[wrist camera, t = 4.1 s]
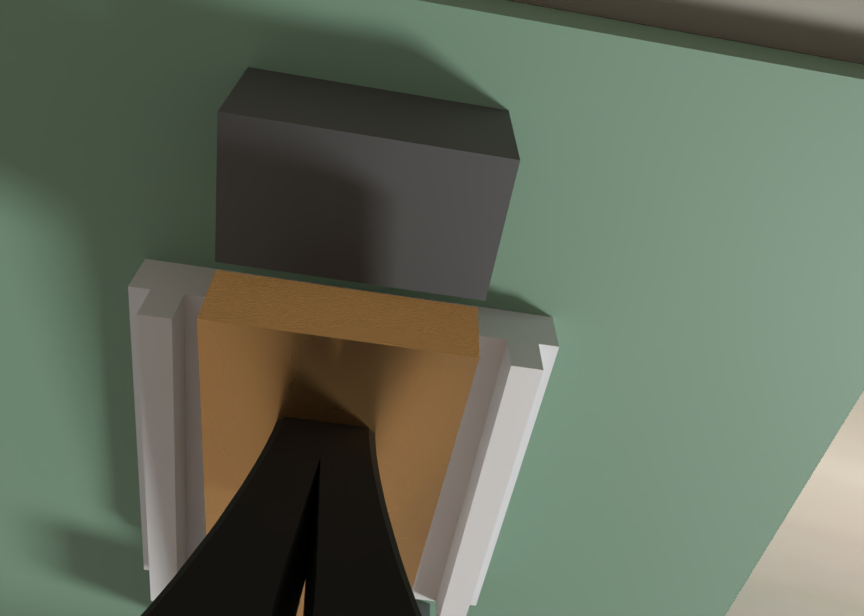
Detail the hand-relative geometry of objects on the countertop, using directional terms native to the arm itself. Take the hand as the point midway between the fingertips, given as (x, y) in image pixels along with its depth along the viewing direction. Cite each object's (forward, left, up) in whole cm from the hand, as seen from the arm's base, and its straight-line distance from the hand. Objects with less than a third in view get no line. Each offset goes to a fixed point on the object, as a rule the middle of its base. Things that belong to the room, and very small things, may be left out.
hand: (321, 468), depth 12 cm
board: (-3, 0, -6) cm, 7 cm away
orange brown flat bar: (-4, 0, -2) cm, 4 cm away
